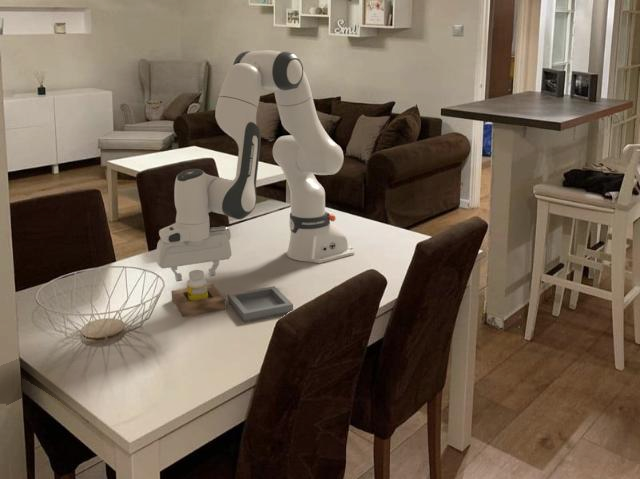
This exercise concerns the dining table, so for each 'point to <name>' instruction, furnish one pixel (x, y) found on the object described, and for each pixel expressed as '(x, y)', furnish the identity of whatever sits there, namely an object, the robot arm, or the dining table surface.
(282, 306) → the charcoal tray
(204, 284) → the supplement bottle
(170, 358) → the dining table surface
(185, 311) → the walnut collar
